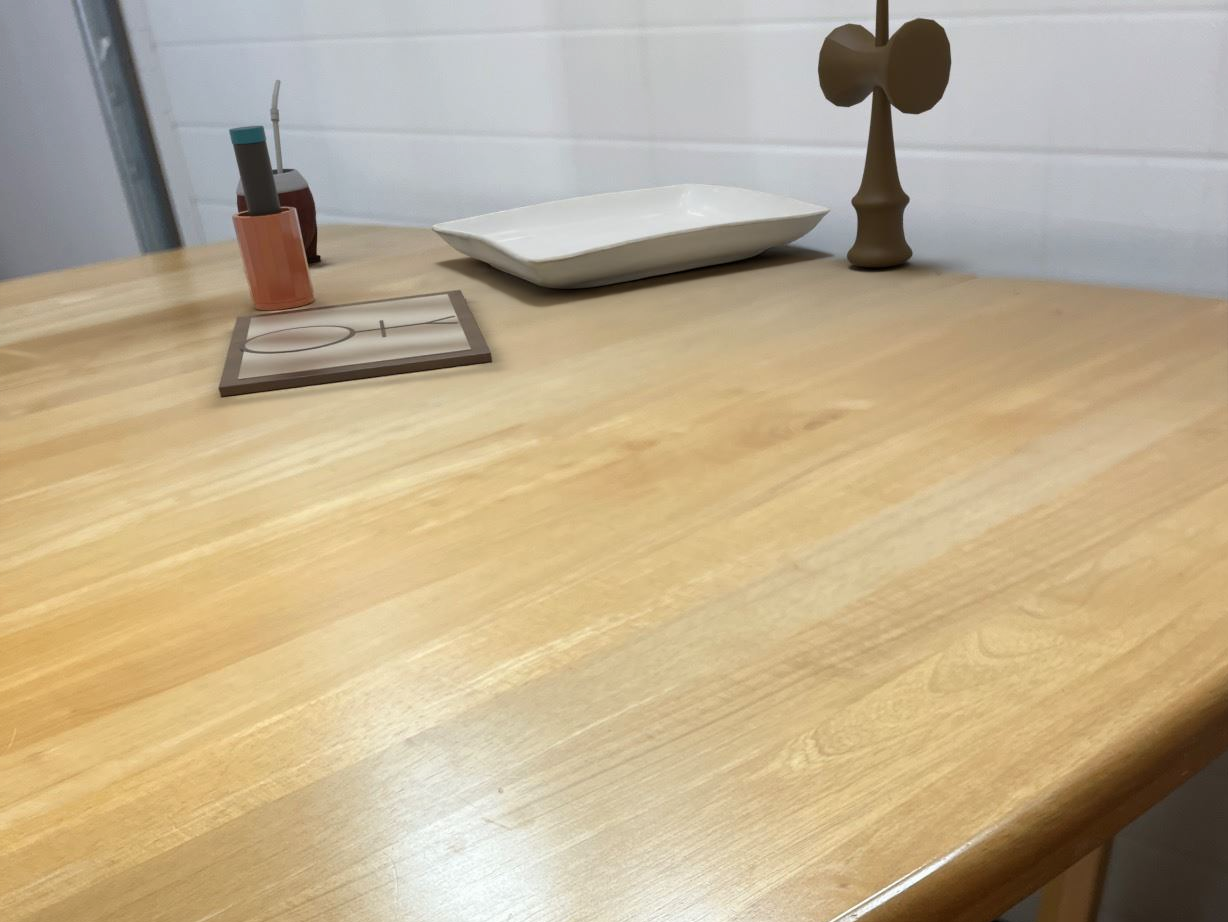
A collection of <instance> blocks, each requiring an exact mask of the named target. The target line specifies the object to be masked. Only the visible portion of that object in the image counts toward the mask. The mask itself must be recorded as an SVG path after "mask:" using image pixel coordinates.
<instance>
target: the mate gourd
mask: <svg viewBox="0 0 1228 922" xmlns="http://www.w3.org/2000/svg"><path fill="white" fill-rule="evenodd" d="M281 82H282V81H281V80H280V79H276V80H275V82H274V86H273V91H272V95H271V108H269V109H270V110H269V111H270V122H272V130H273V140H274V150H275V161H276V169H272V171H273V175H274V180H275V184H276V189H277V194H278V198H279V203H280V207H294V208H296V211H297V216H298V220H299V225H300V230H301V234H302V239H303V244H304V249H305V253H306V258H307V263H308V264H310V263H317V262H321V261H322V257H321V255H320V254H318V225H317V210H316V201H315V199H314V196H313V193H312V190H311V189H310V187H309V182H308V181H307V180H306V178H305V177H304V176H303V175H302V174H301V172H300V171H299V170H297V169H296V168H284V167H283V156H282V155H283V154H282V148H281V147H282V145H281V138H280V137H281V135H280V125H279V122H280V111H279V109H278V102H279V94H280V87H281ZM235 193H236V206H237V213H239V212H243V211H248V208H247V204H246V199H245V195H244V191H243V186H242V182H241V178H240V177H239V180H238V182H237V187H236V191H235Z"/></svg>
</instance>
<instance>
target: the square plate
mask: <svg viewBox="0 0 1228 922" xmlns="http://www.w3.org/2000/svg"><path fill="white" fill-rule="evenodd" d="M830 212H831V209H830V208H829V207H826V206H823V205H818V204H814V203H810V202H807V201H804V200H803V201H802V200H799V199H795V198H791V197H787V196H783V195H779V194H775V193H770V192H765V191H760V190H755V189H751V188H744V187H737V186H728V185H718V184H717V185H715V184H705V183H697V182H696V183H695V182H694V183H693V182H689V183H680V184H674V185H666V186H658V187H650V188H641V189H640V188H639V189H631V190H624V191H616V192H615V191H614V192H605V193H598V194H591V195H583V196H578V197H572V198H571V197H570V198H565V199H564V198H563V199H558V200H552V201H547V202H541V203H535V204H530V205H529V204H528V205H526V206H525V205H524V206H521V207H520V206H519V207H514V208H509V209H504V210H500V211H494V212H490V213H485V214H480V215H474V216H471V217H464V218H460V219H455V220H449V221H444V222H438V223H435V224H433V225H431V231H433V232H434V233H435V234H437V235H438V236H439V237H440V238H441V239H442V240H443V241H444V242H445V243H446V244H447V245H449V246H450V247H452V248H453V249H454V250H456V251H457V252H459V253H460V254H463V255H465V256H468V257H470V258H473V259H476V260H479V261H481V262H484V263H486V264H488V265H489V266H491V267H492V268H494V269H497V270H499V271H501V272H504V273H506V274H509V275H512V276H515V277H517V278H520V279H522V280H524V281H527V282H529V283H531V284H534V285H537V286H539V287H542V288H548V289H560V290H569V289H586V288H587V289H588V288H595V287H602V286H609V285H614V284H619V283H624V282H630V281H635V280H640V279H644V278H649V277H656V276H660V275H666V274H671V273H672V274H673V273H677V272H682V271H688V270H692V269H698V268H702V267H708V266H709V267H710V266H715V265H721V264H726V263H733V262H737V261H741V260H745V259H749V258H753V257H756V256H758V255H760V254H762V253H764V252H765V251H766V250H767V249H771V248H777V247H780V246H784V245H787V244H790V243H793V242H795V241H797V240H799V239H801V238H803V237H805V236H806V235H807V234H809V233H810V232H811V231H813V230H814V229H815V228H816V226H818V224H819V223H820V222H821V221H822V220H823V219H824V217H825V216H827V215H828V214H829V213H830Z"/></svg>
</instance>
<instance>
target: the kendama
mask: <svg viewBox="0 0 1228 922" xmlns="http://www.w3.org/2000/svg"><path fill="white" fill-rule="evenodd" d="M875 1H876V2H875V3H876V6H875V30H874V31H875V35H874V34H873V32H870V31H869V30H868V29H867V28H866V27H864V26H863V25H862V24H856V23H845V24H843V25H840V26H837V27H835V28H834V29H833V30H832V31H831V32H830V33H829V34H828V35H827V36H826V37H825V38H824V40H823V42H822V46H821V47H820V50H819V55H818V63H817V76H818V82H819V83H818V84H819V87H820V89H821V91H822V94H823V96H824V98H825V100H827V101H828V102H829V103H831V104H832V105H834V106H835V107H837V108H839V107H840V108H851V107H853V106H856V105H859V104H861V103H862V102H864V101H865V100H866V99H867V98H868V97H869V96H870V95H871V94H872V98H871V109H870V121H869V129H868V138H867V146H866V147H867V148H866V153H865V159H864V161H865V162H864V168H863V173H862V178H861V182H860V185H859V188H858V190H857V193H856V194H855V195H854V196H852V198H851V201H850V204H851V205H852V207H853V208H854V210H855V213H856V218H857V224H856V225H857V226H856V237H855V239H854V240H855V242H854V243H853V245H852V246H851V248H850V249H849V250H848V251H847V253H846V259H847V261H848V262H849V263H850V264H852V265H854V266H858V267H861V268H887V267H888V268H889V267H894V266H897V265H900V264H904V263H906V262H907V261H909V260H910V259H911V258H913V256H914V255H913V254H914V252H913V249H912V248H911V246H910V245H909V244H908V242H907V240H906V236H905V229H904V214H905V210H906V207H907V206H908V205H909V203H910V202H911V201H910V200H911V197H910V195H908V194H907V193H906V192H905V190H904V189H903V187H902V184H901V180H900V177H899V171H898V165H897V155H896V149H895V140H894V129H893V117H892V107H894V108H895V109H897V110H898V111H899V112H900V113H902V114H905V115H921V114H923V113H926V112H928V111H930V110H932V109H933V108H934V107H935V106H937V104H938V103H939V102H940V101H941V100H942V99H943V97H944V95H945V92H946V89H947V87H948V86H949V85H948V84H949V81H950V76H951V68H952V52H951V43H950V40H949V37H948V35H947V33H946V30H945V28H944V27H943V26H942V25H941V24H939V23H938V22H937V21H936V20H935V19H930V18H923V17H917V18H914V19H911V20H909V21H906V22H904V23H903V24H902V25H901V26H900V27H899V28H898V29H897V30H895V32H894V33H893V34H892V35H891V36H890V20H889V19H890V16H889V15H890V13H889V10H890V9H889V7H890V5H889V4H890V3H889V0H875Z"/></svg>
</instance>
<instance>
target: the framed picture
mask: <svg viewBox="0 0 1228 922" xmlns="http://www.w3.org/2000/svg"><path fill="white" fill-rule="evenodd" d="M492 361H493V357H492V352H491V350H490V348H489V345H488V344H487V342H486V339H485V338H484V335H483V333H482V332H481V329H480V327H479V325H478V323H477V321H476V319H475V316H474V315H473V313H472V310H471V309H470V307H469V304H468V302H467V300H466V298H465V295H464V294H463V291H462V289H456V290H446V291H439V292H431V293H421V294H414V295H408V296H407V295H406V296H398V297H390V298H382V299H372V300H365V301H357V302H349V303H340V304H331V305H325V306H317V307H316V306H315V307H308V308H299V309H292V310H284V311H274V312H267V313H259V314H249V315H242V316H237V317H236V320H235V323H234V327H233V331H232V335H231V339H230V343H229V346H228V350H227V355H226V358H225V362H224V366H223V369H222V373H221V377H220V381H219V385H218V391H219V395H220V397H226V396H227V397H228V396H237V395H243V394H251V393H252V394H253V393H259V392H267V391H274V390H282V389H289V388H299V387H305V386H313V385H321V384H327V383H328V384H329V383H337V382H344V381H351V380H359V379H366V378H374V377H375V378H376V377H381V376H390V375H398V374H406V373H412V372H421V371H429V370H436V369H444V368H452V367H459V366H467V365H473V364H475V365H476V364H483V363H490V362H492Z"/></svg>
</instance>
